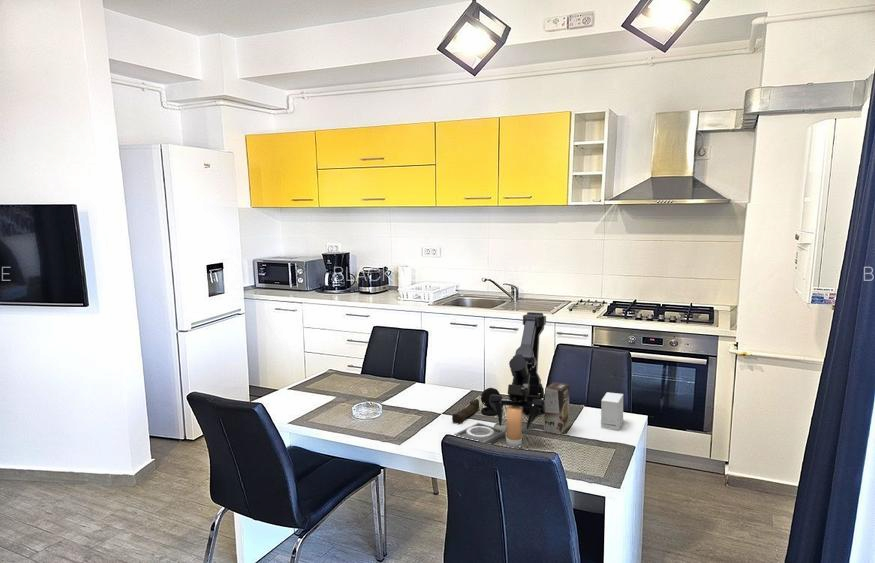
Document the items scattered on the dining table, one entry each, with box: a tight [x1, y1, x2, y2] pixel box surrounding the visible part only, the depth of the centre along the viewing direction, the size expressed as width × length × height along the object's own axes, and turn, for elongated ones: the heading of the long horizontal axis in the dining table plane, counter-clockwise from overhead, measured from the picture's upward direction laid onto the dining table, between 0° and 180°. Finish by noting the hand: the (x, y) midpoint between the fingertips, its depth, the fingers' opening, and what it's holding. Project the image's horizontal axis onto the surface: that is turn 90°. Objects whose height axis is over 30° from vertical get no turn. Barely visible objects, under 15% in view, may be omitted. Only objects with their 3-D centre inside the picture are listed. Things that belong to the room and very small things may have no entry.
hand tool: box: [451, 398, 480, 425], centre depth 218 cm, size 19×4×5 cm, turn 147°
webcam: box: [480, 387, 501, 417], centre depth 220 cm, size 8×8×10 cm
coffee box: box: [543, 381, 570, 435], centre depth 203 cm, size 9×6×16 cm
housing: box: [453, 422, 507, 445], centre depth 196 cm, size 14×12×2 cm
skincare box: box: [600, 391, 624, 431], centre depth 207 cm, size 10×6×10 cm, turn 152°
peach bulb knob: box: [506, 405, 523, 449], centre depth 189 cm, size 5×5×13 cm
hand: (513, 427), depth 188 cm, fingers open, 9 cm apart
